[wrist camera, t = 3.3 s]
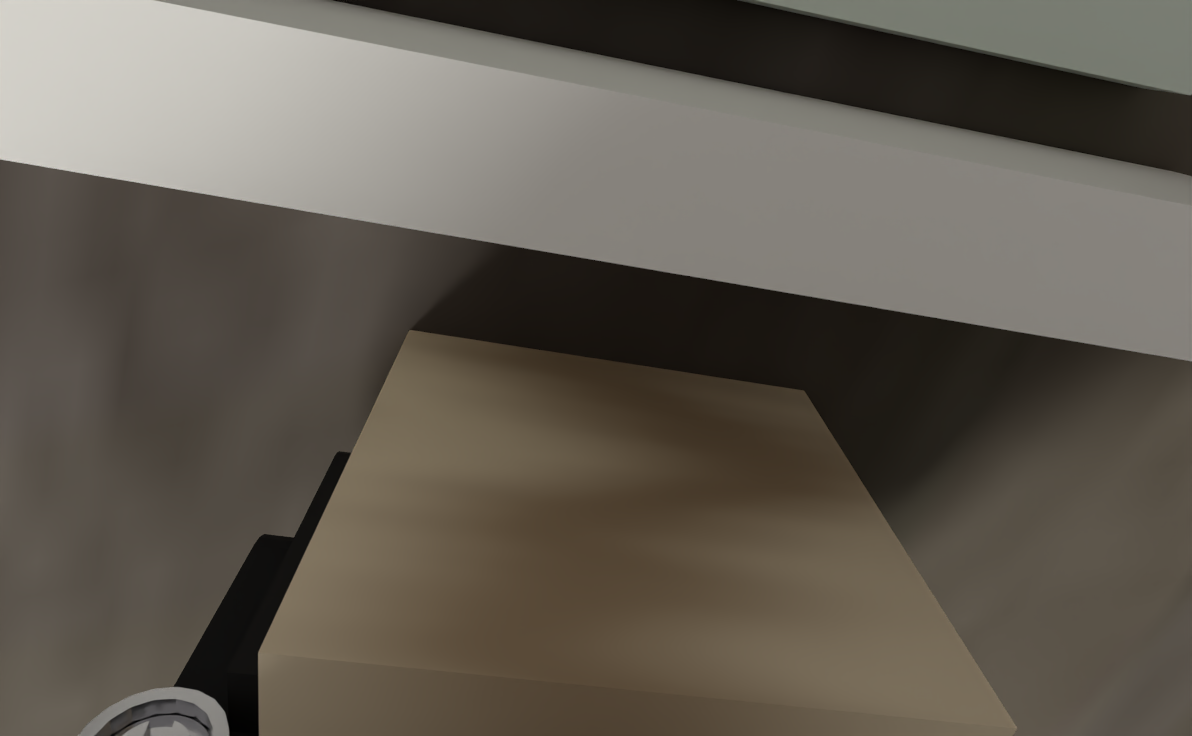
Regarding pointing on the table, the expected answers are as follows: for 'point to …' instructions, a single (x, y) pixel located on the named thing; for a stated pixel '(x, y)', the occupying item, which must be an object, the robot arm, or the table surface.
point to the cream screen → (598, 161)
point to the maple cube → (606, 567)
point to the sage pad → (1039, 32)
